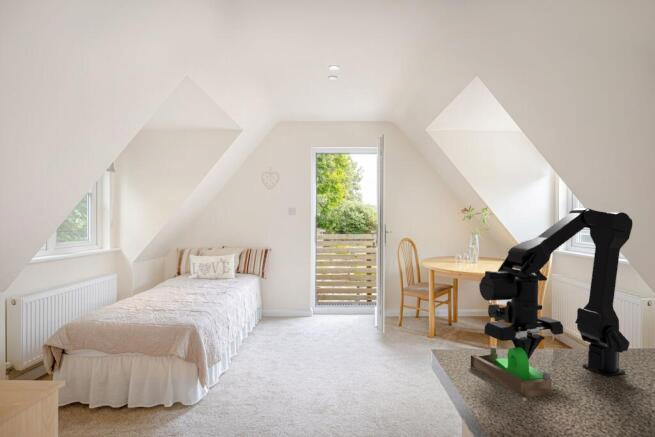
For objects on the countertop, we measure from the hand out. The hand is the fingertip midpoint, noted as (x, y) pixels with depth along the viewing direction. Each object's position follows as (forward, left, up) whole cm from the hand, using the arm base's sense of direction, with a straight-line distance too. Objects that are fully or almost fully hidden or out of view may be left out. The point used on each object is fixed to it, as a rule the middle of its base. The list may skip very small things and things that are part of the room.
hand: (523, 363), depth 93 cm
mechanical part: (+1, 0, -3) cm, 3 cm away
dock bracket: (+5, 0, -3) cm, 6 cm away
